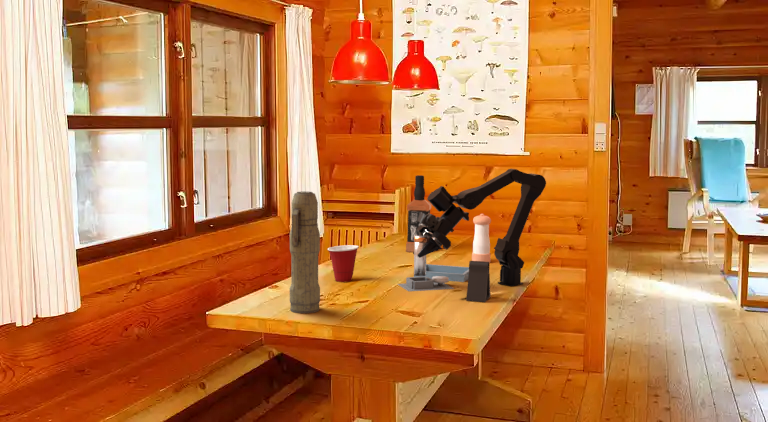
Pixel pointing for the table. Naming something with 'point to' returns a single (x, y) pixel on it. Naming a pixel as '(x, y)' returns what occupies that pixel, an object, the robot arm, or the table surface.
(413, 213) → the whiskey bottle
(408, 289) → the plate
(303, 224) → the thermos
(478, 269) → the phone stand
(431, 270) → the tray
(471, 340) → the table surface
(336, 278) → the plastic cup
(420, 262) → the salt shaker
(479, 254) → the pepper shaker
